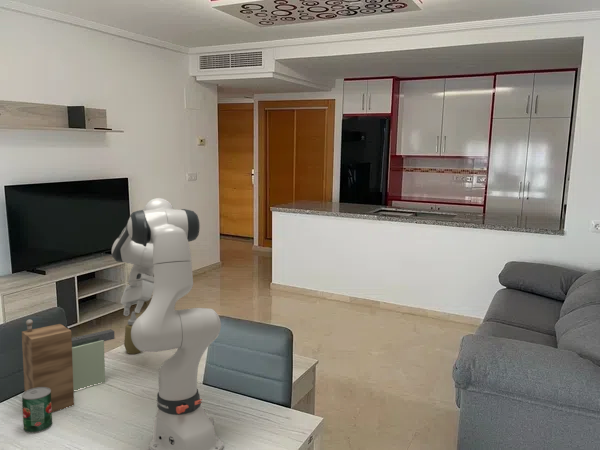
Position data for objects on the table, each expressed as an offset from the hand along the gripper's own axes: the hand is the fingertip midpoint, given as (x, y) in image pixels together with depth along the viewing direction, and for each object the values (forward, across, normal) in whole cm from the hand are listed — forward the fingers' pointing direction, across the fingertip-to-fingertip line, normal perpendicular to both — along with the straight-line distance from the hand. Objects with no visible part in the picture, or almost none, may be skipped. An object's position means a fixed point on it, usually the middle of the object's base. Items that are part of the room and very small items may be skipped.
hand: (131, 314), depth 184 cm
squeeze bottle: (+10, -28, +17) cm, 34 cm away
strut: (+13, -7, -11) cm, 19 cm away
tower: (+36, -3, -18) cm, 40 cm away
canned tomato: (+42, +7, -22) cm, 48 cm away
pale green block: (+27, -12, -7) cm, 31 cm away
